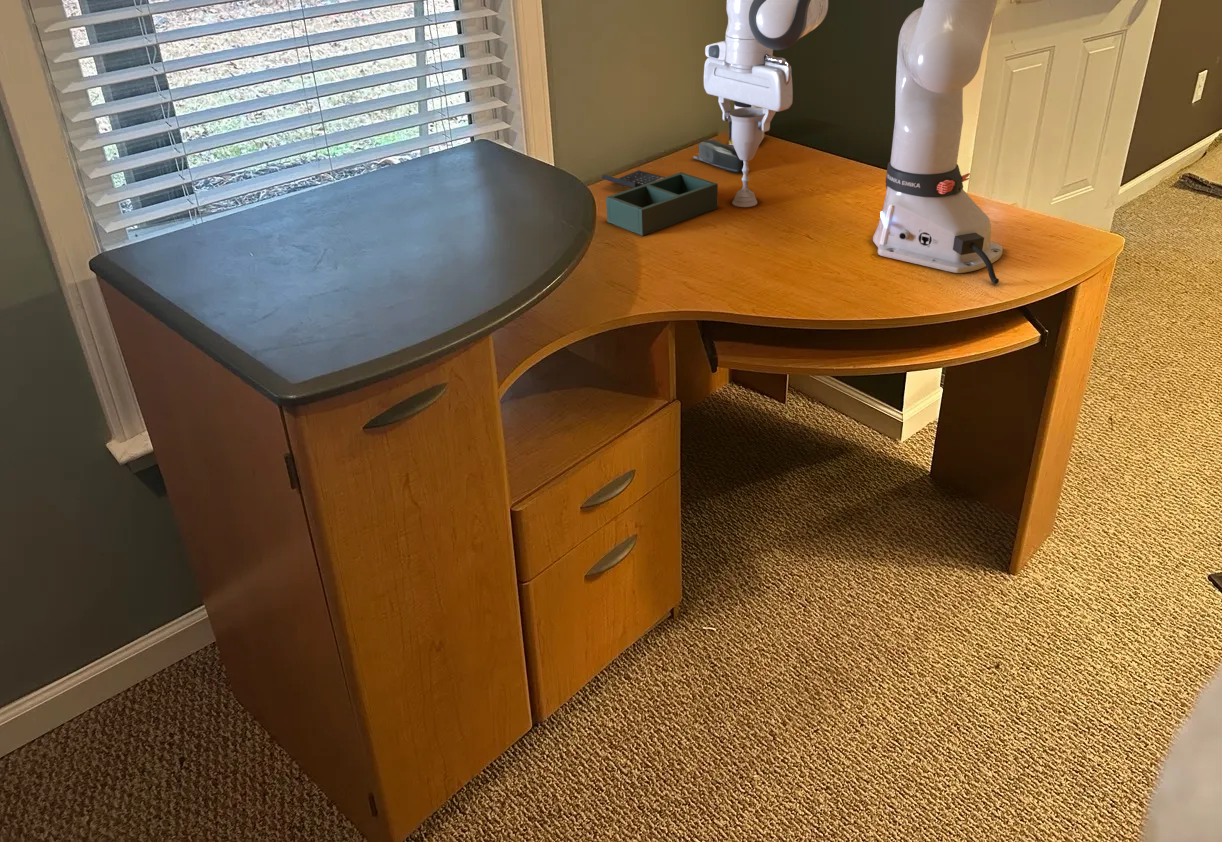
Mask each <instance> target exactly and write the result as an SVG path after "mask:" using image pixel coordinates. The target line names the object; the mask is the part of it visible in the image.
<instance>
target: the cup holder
mask: <svg viewBox="0 0 1222 842" xmlns="http://www.w3.org/2000/svg"><path fill="white" fill-rule="evenodd" d="M664 177H665V178H662V179H659V180H656V181H653V182H650V183H647V184H644V185H641V186H638V187H635V188H629V189H625V190H623V191H620V192H617V193H613V194H610V195H608V196H605V203H606V206H605V207H606V221H607V223H609V224H612V225H614V226H616V227H618V228H621V229H624V230H627V231H629V232H632V233H633V234H636V235H639V236H641V237H643V236H647V235H649V234H652V233H655V232H657V231H660V230H662V229H665V228H667V227H671V226H673V225H676V224H679V223H682V222H684V221H686V220H689V219H692V218H695V217H699V216H701V215H703V214H707V213H708V212H711V211H713V210H718V200H719V199H718V195H719V193H718V191H719V190H718V189H719V188H718V187H719V185H718V183H717V182H714V181H711V180H707V179H705V178H701V177H698V176H695V175H692V174H688V173H685V172H682V171H680V172H677V173H674V174H671V175H667V176H664Z"/></svg>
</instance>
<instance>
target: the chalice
mask: <svg viewBox="0 0 1222 842" xmlns="http://www.w3.org/2000/svg"><path fill="white" fill-rule="evenodd" d="M760 108H761V107H760ZM760 108H752V107H747V108H738V109H735V108H733V109H731V111H730V112H729V114H730V116H731V118H732V142H733V145H732V146H733V147H734V148H735V151H736V153H737V155H738V157H739V159H740V160H743V163H744V166H743V169H742V171H743V172H742V174H743V175H742V177H741V179H740V180H741V181H742V188H741V189H739V190H737V191H736V193H735V196H734V199H733V200H732V203H731V204H732V205H733V206H735V207H739V208H750V207H754V206H756V205H757V204H758V200H757V197H756V196H755V192H754V191H753V190H751V189H750V188H749V185H748V183H749V182H750V180H751V178H750V177H749V172H750V168H749V162H750V161H752V160H753V159H754V157H755V155H756V153H757V151H758V149H759V147H760V144H761V143H760V141H761V139H762V131H760V130H758V121H762V118H763V116H764V114H763V109H760ZM761 142H762V141H761Z"/></svg>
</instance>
